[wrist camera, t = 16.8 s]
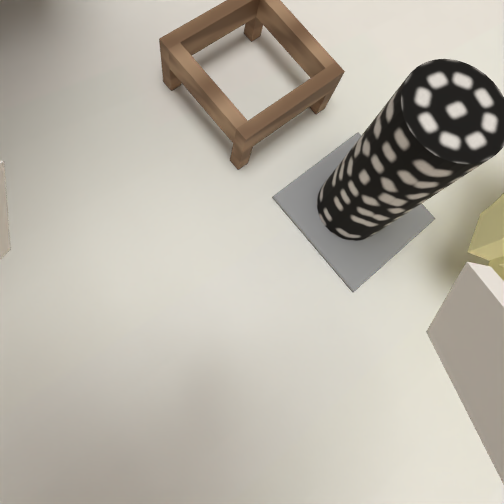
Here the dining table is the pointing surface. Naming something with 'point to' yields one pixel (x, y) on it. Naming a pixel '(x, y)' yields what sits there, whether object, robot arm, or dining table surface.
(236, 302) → the dining table surface
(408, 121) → the spotted tube
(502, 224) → the slatted curved stool
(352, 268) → the mat
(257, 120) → the square frame stand
